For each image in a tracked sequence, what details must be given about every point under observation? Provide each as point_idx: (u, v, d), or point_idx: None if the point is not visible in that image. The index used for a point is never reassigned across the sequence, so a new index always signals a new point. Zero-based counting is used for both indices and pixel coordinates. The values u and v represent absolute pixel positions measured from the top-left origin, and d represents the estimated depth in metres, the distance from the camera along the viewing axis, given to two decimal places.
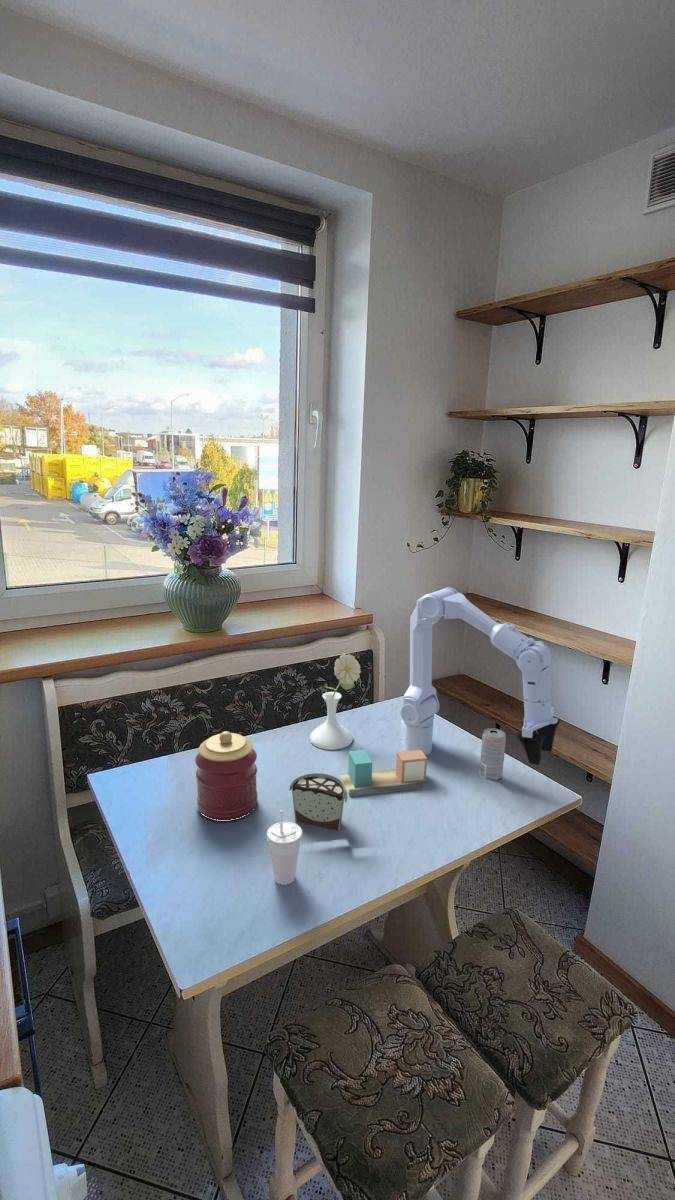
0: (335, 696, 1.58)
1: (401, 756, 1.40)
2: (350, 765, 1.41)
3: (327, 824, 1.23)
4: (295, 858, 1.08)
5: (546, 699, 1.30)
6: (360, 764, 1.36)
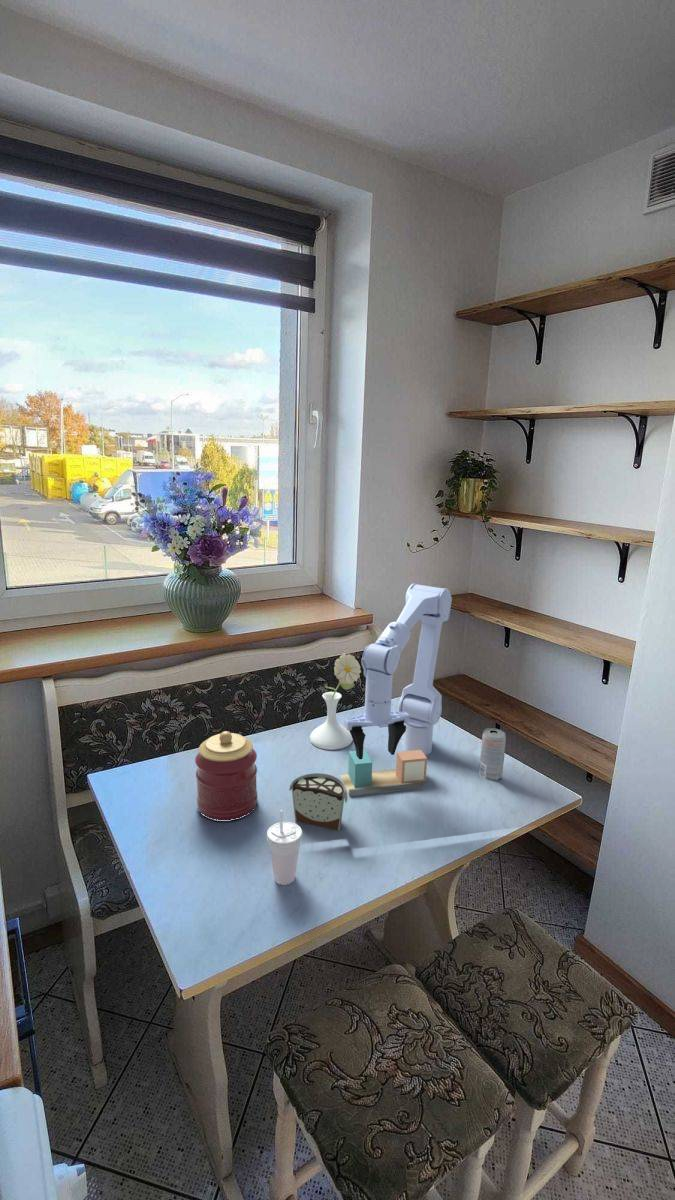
0: (335, 696, 1.58)
1: (401, 756, 1.40)
2: (350, 765, 1.41)
3: (327, 824, 1.23)
4: (295, 858, 1.08)
5: (367, 698, 1.30)
6: (360, 764, 1.36)
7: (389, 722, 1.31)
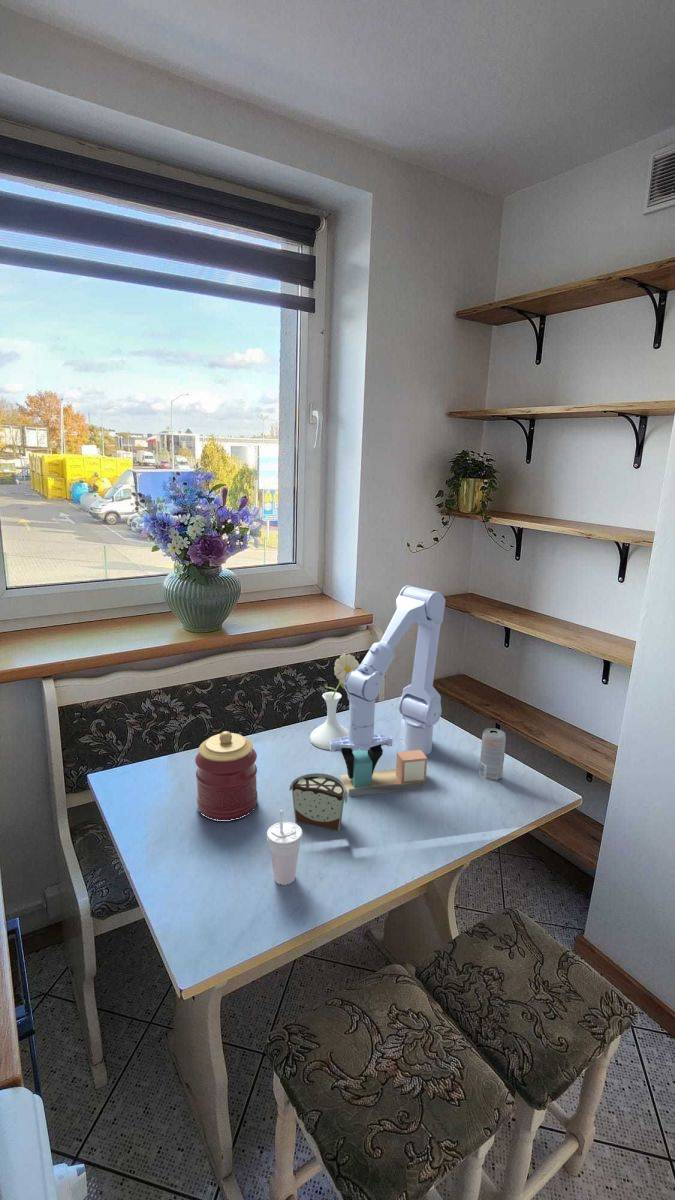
0: (335, 696, 1.58)
1: (401, 756, 1.40)
2: None
3: (327, 824, 1.23)
4: (295, 858, 1.08)
5: (349, 721, 1.36)
6: (360, 764, 1.36)
7: (371, 745, 1.36)
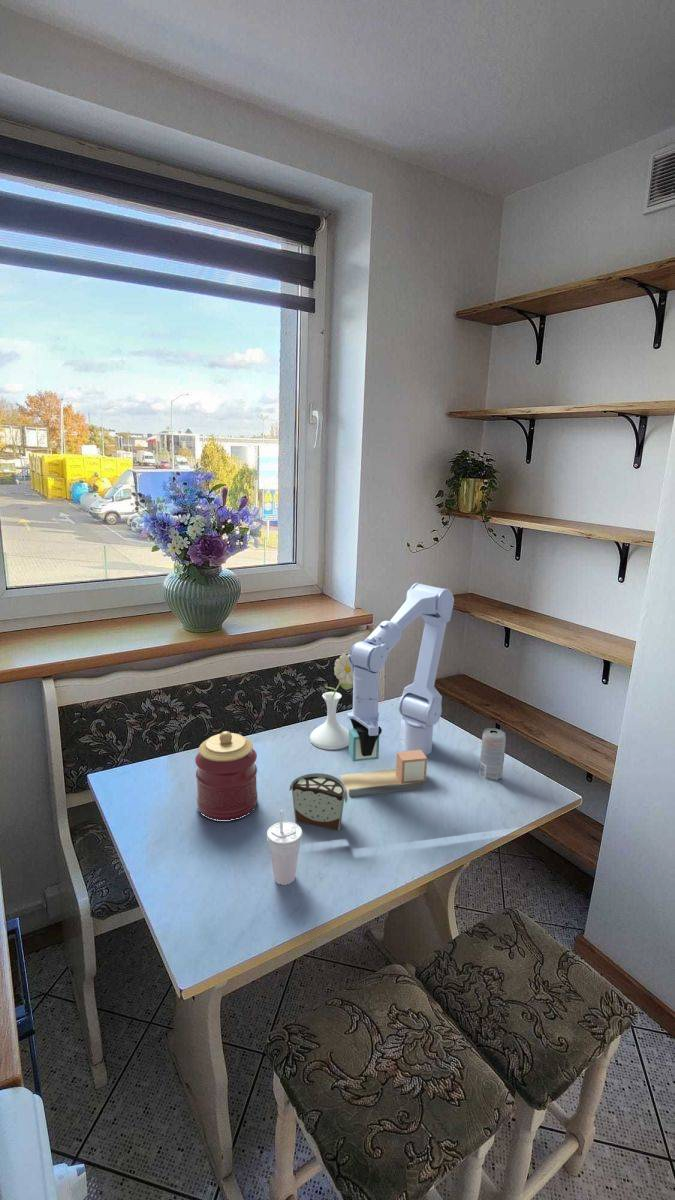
0: (335, 696, 1.58)
1: (401, 756, 1.40)
2: None
3: (327, 824, 1.23)
4: (295, 858, 1.08)
5: (354, 694, 1.34)
6: (350, 732, 1.37)
7: (356, 719, 1.34)
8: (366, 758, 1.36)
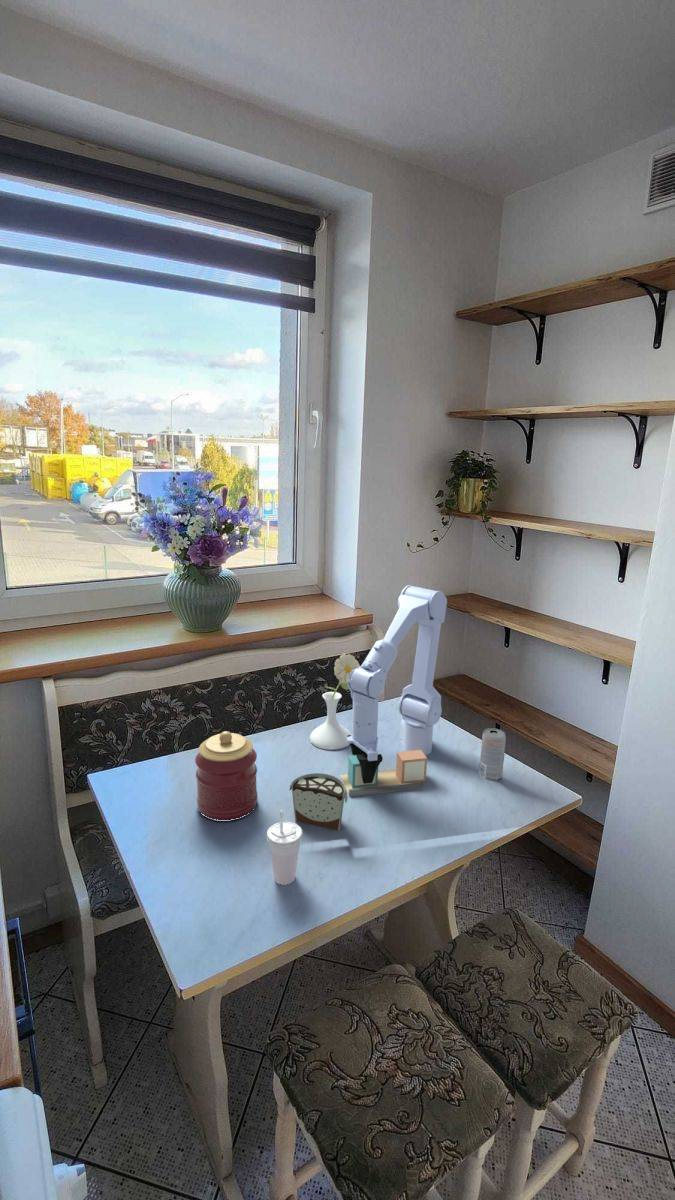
0: (335, 696, 1.58)
1: (401, 756, 1.40)
2: None
3: (327, 824, 1.23)
4: (295, 858, 1.08)
5: (353, 719, 1.35)
6: (349, 758, 1.39)
7: (355, 743, 1.35)
8: (365, 784, 1.38)
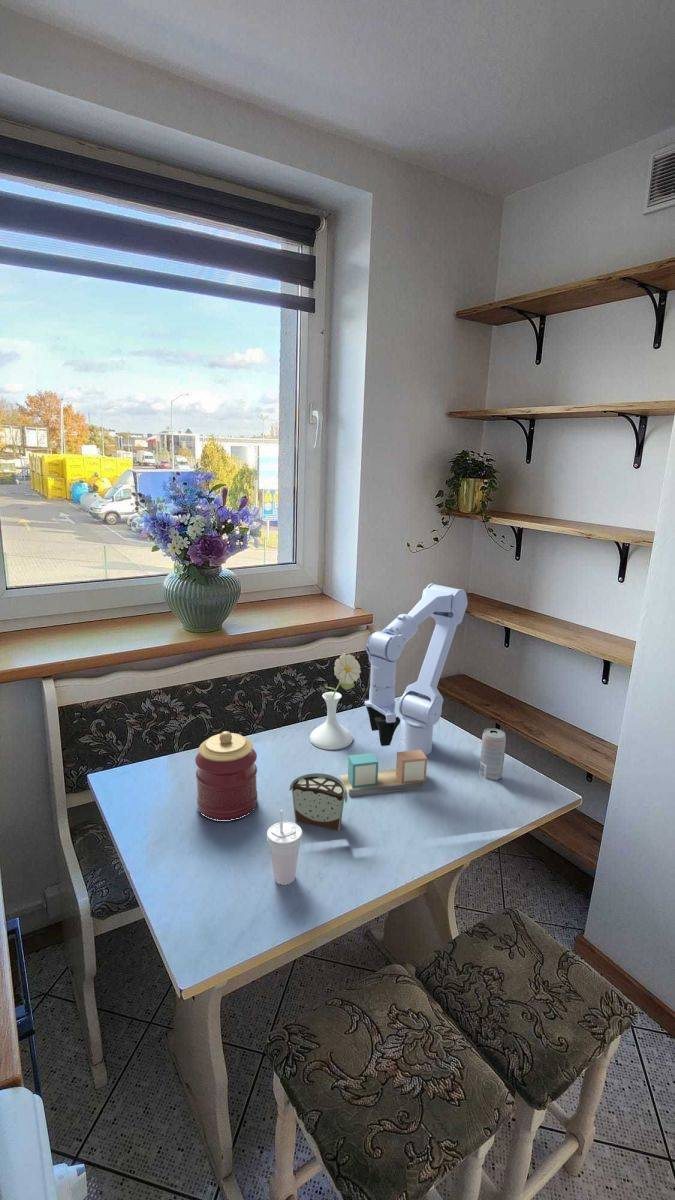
0: (335, 696, 1.58)
1: (401, 756, 1.40)
2: None
3: (327, 824, 1.23)
4: (295, 858, 1.08)
5: (371, 683, 1.38)
6: (349, 758, 1.39)
7: (373, 706, 1.38)
8: (365, 784, 1.38)
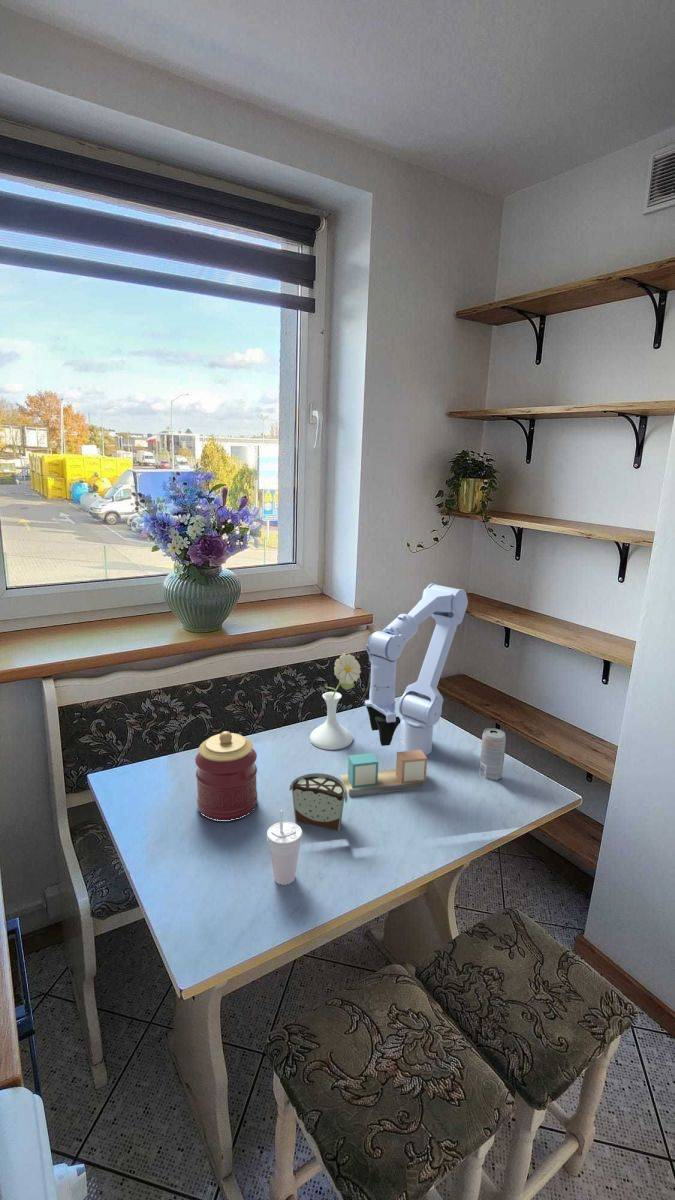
0: (335, 696, 1.58)
1: (401, 756, 1.40)
2: None
3: (327, 824, 1.23)
4: (295, 858, 1.08)
5: (371, 682, 1.38)
6: (349, 758, 1.39)
7: (373, 706, 1.38)
8: (365, 784, 1.38)
